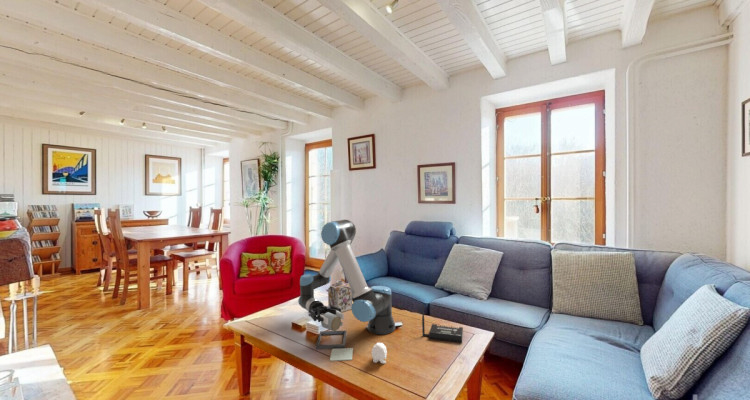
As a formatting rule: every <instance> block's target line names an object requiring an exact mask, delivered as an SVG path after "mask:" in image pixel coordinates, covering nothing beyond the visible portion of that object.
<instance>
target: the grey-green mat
mask: <svg viewBox="0 0 750 400" xmlns="http://www.w3.org/2000/svg"><path fill="white" fill-rule="evenodd" d="M353 351H354V348H353V347H347V348H346V347H345V348H336V349H331V353H330V358H329V362H333V361H335V362H337V361H338V362H339V361H352V360H353Z"/></svg>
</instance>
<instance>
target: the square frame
mask: <svg viewBox="0 0 750 400" xmlns="http://www.w3.org/2000/svg"><path fill="white" fill-rule="evenodd" d="M347 334H348V333H347V330H336V331H332V330H326V331H325V330H323V331H320V332H319V335H318V338H317V341H316V344H315V350H330V349H331V350H332V349H341V348H346V340H347ZM328 335H329V336H331V335H332V336H333V335H343V338H342V343H340V344H339V343H337V344H320V343H321V340H322V336H328Z"/></svg>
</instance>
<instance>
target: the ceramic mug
mask: <svg viewBox="0 0 750 400" xmlns="http://www.w3.org/2000/svg"><path fill="white" fill-rule="evenodd" d="M323 316H324V317H326V318H328V324H325V323H324V322H321V321H320V325H321V327H322V328H325V329H327V330H328V331H339V329H340V327H343V325H344V322H342V319H341V318H340V317H338V316H336V315H334V314H332V313H329V312H327V313H325V314H323Z"/></svg>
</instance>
